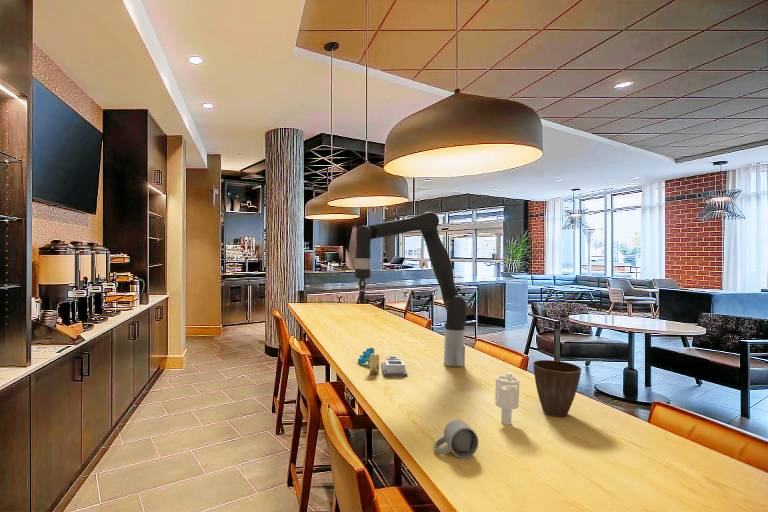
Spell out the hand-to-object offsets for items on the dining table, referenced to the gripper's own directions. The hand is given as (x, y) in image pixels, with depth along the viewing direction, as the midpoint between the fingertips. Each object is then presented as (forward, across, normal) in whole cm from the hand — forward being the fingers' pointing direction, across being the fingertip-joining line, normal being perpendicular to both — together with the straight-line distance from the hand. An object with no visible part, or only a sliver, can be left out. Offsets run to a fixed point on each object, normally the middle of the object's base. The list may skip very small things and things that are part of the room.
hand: (361, 302), depth 195 cm
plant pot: (+29, -61, -65) cm, 94 cm away
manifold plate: (+29, -11, -15) cm, 34 cm away
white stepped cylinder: (+29, -69, -45) cm, 87 cm away
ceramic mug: (+30, -88, -24) cm, 96 cm away
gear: (+30, 0, -3) cm, 30 cm away
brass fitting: (+29, -16, -6) cm, 34 cm away
